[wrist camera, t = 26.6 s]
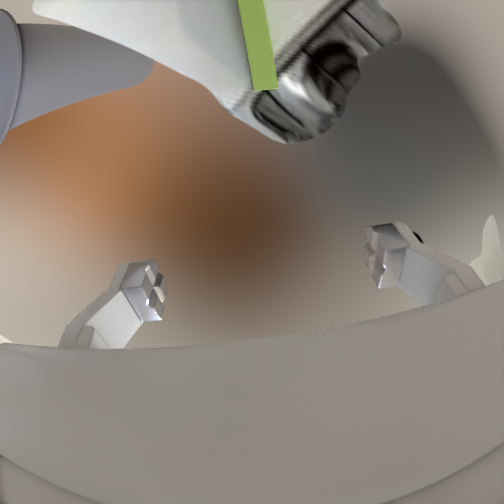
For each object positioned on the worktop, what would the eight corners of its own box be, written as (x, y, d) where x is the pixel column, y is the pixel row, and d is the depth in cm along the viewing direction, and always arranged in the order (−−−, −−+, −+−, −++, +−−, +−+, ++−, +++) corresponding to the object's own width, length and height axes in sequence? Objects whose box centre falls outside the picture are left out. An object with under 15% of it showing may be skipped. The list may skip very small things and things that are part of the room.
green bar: (275, 86, 32) (278, 88, 30) (253, 89, 33) (254, 91, 30) (247, -56, 18) (248, -64, 16) (225, -53, 18) (224, -61, 16)
